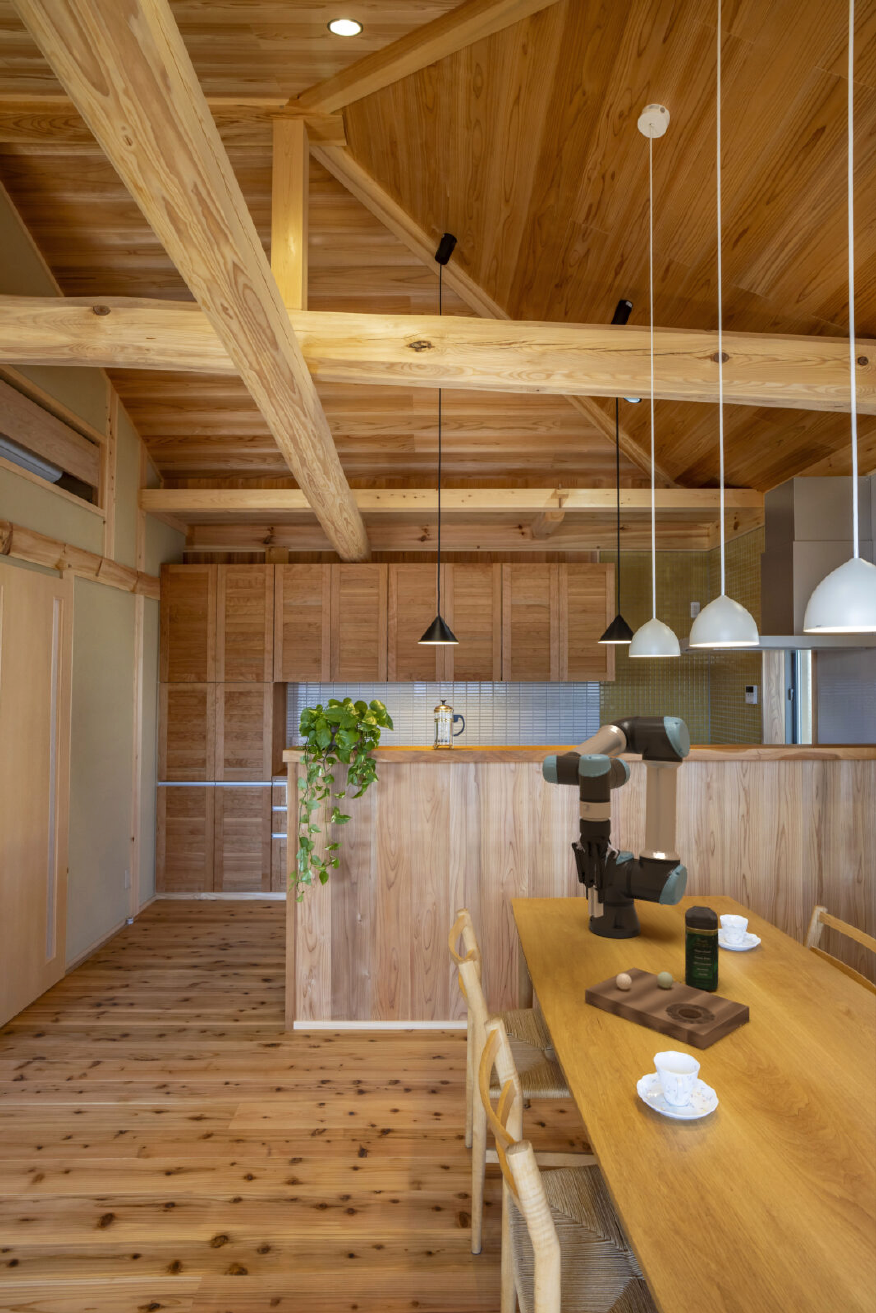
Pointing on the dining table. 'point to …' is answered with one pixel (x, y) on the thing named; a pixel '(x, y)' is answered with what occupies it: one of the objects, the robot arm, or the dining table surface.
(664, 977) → the sage ball
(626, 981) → the cream ball
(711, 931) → the coffee jar
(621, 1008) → the board
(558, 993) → the dining table surface
